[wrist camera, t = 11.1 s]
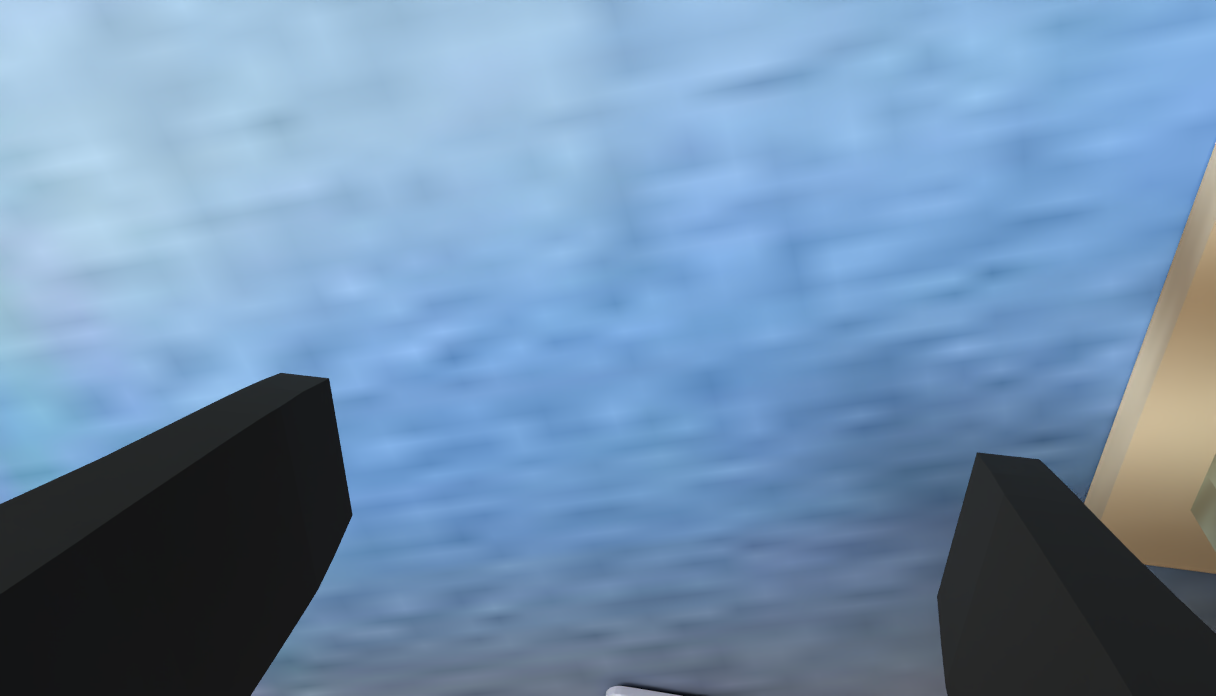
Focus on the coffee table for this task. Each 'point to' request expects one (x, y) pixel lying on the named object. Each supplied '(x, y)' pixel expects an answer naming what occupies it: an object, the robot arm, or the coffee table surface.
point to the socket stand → (1170, 415)
